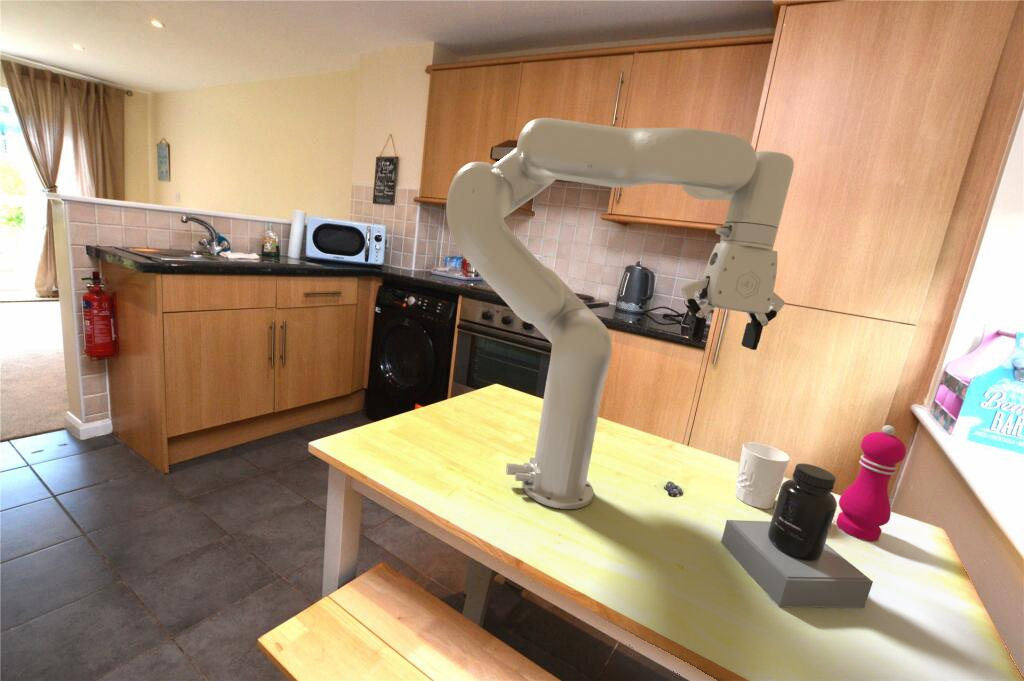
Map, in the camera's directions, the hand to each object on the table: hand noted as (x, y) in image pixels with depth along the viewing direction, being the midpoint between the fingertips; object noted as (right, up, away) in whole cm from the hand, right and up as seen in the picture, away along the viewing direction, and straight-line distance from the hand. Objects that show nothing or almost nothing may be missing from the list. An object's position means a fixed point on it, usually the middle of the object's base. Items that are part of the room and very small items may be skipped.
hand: (721, 344), depth 75 cm
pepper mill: (+27, -33, +7) cm, 43 cm away
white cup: (+12, -30, +13) cm, 35 cm away
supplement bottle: (+7, -29, -8) cm, 31 cm away
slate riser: (+6, -33, -8) cm, 35 cm away
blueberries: (-4, -28, +13) cm, 31 cm away
